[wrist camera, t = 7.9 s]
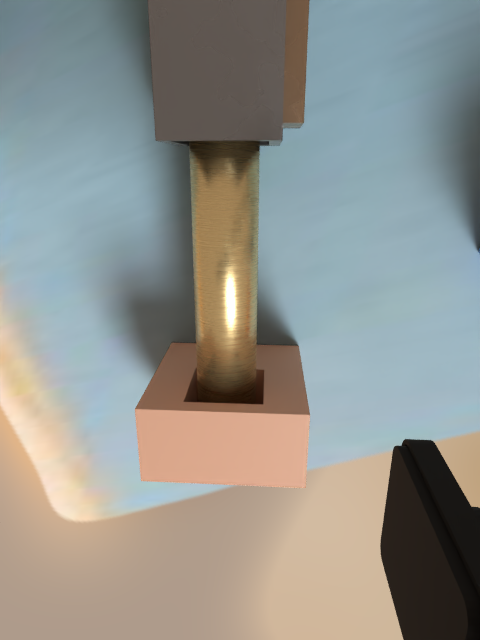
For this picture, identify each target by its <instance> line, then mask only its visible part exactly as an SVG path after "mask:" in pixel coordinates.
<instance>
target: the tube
mask: <svg viewBox="0 0 480 640" xmlns="http://www.w3.org/2000/svg"><path fill="white" fill-rule="evenodd" d="M259 147H260V141H189V150H190V179H191V209H192V239H193V269H194V299H195V329H196V359H197V389H198V402H201V403H232V404H256V354H257V285H258V216H259Z"/></svg>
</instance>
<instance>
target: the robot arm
mask: <svg viewBox="0 0 480 640" xmlns="http://www.w3.org/2000/svg"><path fill="white" fill-rule="evenodd" d="M381 557H382V562H383V566H384V570H385V573H386V577H387V581H388V584H389V588H390V591H391V595H392V599H393V603H394V606H395V610H396V614H397V617H398V621H399V625H400V628H401V632H402V635H403V639H404V640H480V508H478V507H471V506H470V504H469V502H468V500H467V499H466V497H465V495H464V493H463V492H462V490H461V488H460V487H459V485H458V483H457V481H456V479H455V478H454V476H453V474H452V472H451V471H450V469H449V467H448V466H447V464H446V462H445V460H444V458H443V457H442V455H441V453H440V451H439V450H438V448H437V446H436V445H435V443H434V442H433V441H431V440H412V439H405V440H404V441H403V443H402V446H395V447H394V449H393V455H392V463H391V470H390V478H389V484H388V492H387V499H386V506H385V513H384V521H383V528H382V535H381Z"/></svg>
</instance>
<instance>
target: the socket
mask: <svg viewBox="0 0 480 640" xmlns="http://www.w3.org/2000/svg"><path fill="white" fill-rule="evenodd" d="M135 415H136V427H137V438H138V450H139V462H140V473H141V481H154V482H177V483H200V484H224V485H247V486H270V487H272V486H273V487H294V488H305V487H306V472H307V455H308V438H309V422H310V413H309V406H308V400H307V394H306V388H305V382H304V376H303V370H302V363H301V357H300V351H299V346H291V345H257V354H256V404H232V403H201V402H198V389H197V359H196V343H171V345H170V347H169V348H168V350H167V352H166V354H165V356H164V357H163V359H162V361H161V363H160V365H159V367H158V368H157V370H156V372H155V374H154V376H153V377H152V379H151V381H150V383H149V385H148V386H147V388H146V390H145V392H144V394H143V396H142V397H141V399H140V401H139V403H138V405H137V406H136V408H135Z"/></svg>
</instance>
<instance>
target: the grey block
mask: <svg viewBox="0 0 480 640" xmlns="http://www.w3.org/2000/svg"><path fill="white" fill-rule="evenodd" d="M148 13H149V31H150V48H151V66H152V84H153V102H154V119H155V137H156V141H160V142H164V143H169V144H173V145H178V146H189V141H260V146H280V144H281V142H282V134H283V128H300V127H301V126H302V124H303V123H304V107H305V84H306V61H307V39H308V16H309V0H148Z"/></svg>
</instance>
